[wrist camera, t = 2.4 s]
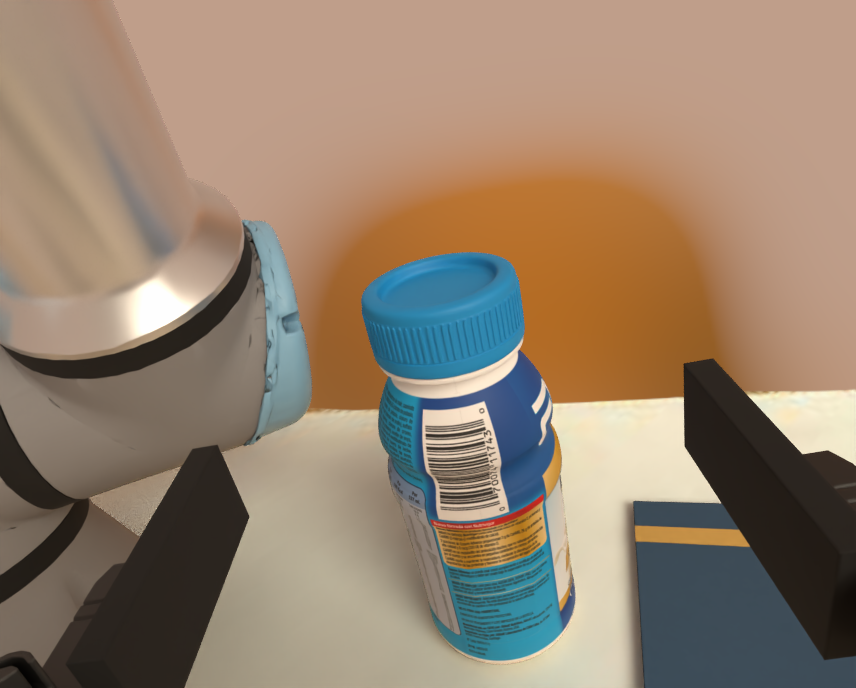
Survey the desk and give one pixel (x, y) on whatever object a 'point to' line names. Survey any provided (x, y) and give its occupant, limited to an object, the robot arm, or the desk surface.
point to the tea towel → (717, 608)
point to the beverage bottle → (473, 454)
